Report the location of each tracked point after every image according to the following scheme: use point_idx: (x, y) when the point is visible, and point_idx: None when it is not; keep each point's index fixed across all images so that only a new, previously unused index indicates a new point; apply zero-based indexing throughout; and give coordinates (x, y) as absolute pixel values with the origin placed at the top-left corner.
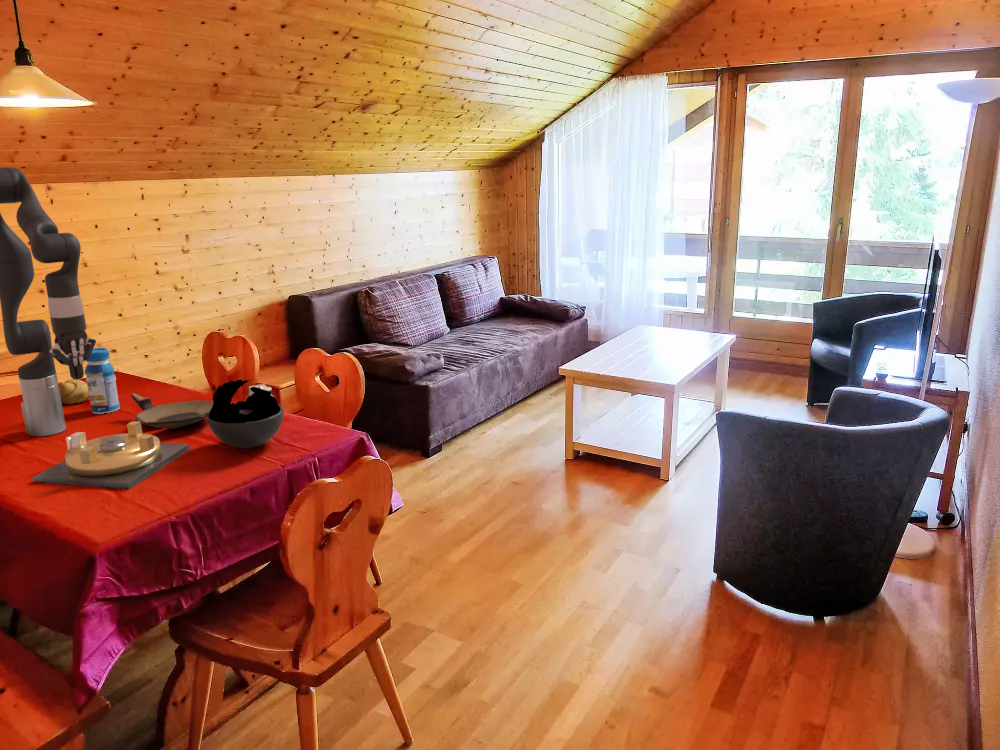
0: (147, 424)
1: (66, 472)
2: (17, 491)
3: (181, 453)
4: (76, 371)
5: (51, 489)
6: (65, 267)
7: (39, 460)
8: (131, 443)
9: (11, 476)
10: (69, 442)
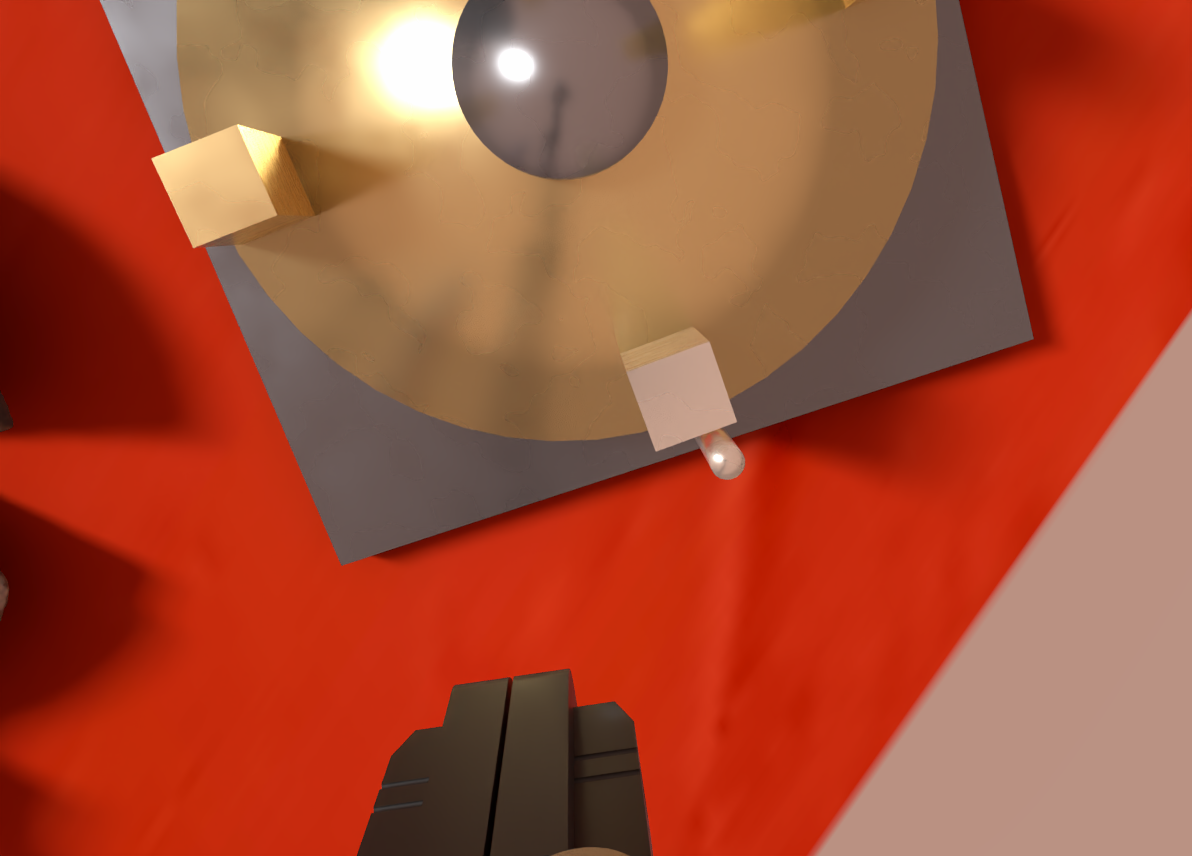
0: (11, 418)
1: None
2: (1152, 289)
3: None
4: (571, 780)
5: (1050, 108)
6: None
7: (750, 664)
8: (410, 25)
9: (999, 563)
10: (724, 436)
